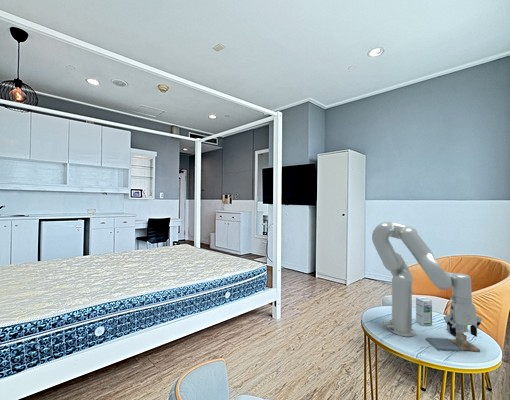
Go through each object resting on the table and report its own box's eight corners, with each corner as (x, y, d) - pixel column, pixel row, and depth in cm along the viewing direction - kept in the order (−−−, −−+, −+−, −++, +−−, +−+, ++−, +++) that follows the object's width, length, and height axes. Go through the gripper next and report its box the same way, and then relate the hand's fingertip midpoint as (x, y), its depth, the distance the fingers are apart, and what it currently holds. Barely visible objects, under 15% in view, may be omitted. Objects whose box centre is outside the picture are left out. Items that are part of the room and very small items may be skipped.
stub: (462, 350, 123) (462, 338, 123) (449, 340, 132) (449, 329, 132) (480, 351, 123) (480, 339, 123) (465, 341, 132) (465, 329, 132)
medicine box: (464, 337, 136) (464, 321, 136) (454, 336, 137) (454, 320, 137) (455, 330, 143) (455, 314, 144) (446, 329, 144) (446, 314, 145)
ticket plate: (438, 350, 123) (438, 348, 123) (425, 339, 133) (425, 337, 133) (462, 351, 123) (462, 349, 123) (447, 340, 133) (447, 338, 133)
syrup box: (423, 326, 148) (423, 300, 149) (415, 321, 154) (415, 296, 154) (432, 325, 149) (432, 300, 149) (424, 321, 155) (424, 296, 155)
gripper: (448, 302, 124) (450, 338, 124) (486, 302, 123) (488, 339, 123) (438, 297, 132) (439, 331, 131) (474, 297, 131) (475, 331, 130)
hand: (463, 335), depth 127 cm, fingers open, 9 cm apart
